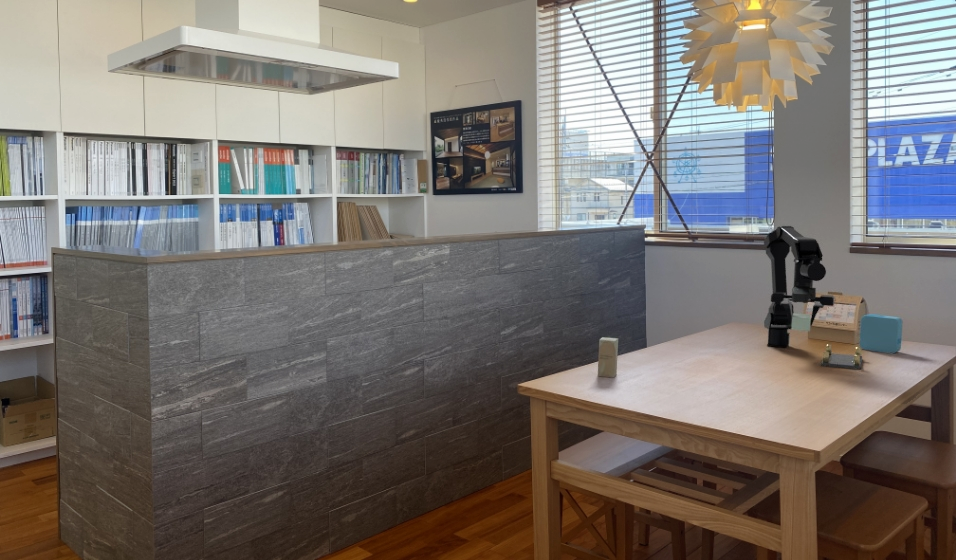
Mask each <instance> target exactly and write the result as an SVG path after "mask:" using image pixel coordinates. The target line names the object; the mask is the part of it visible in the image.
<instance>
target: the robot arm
mask: <svg viewBox="0 0 956 560" xmlns="http://www.w3.org/2000/svg"><path fill="white" fill-rule="evenodd" d="M763 247H764V248H765V254H766V256H767V258H769V260H770V265H771V283H772V286H771V287H772V294H771V295H770V306H769V307H768V313H767V315H766V317H765V318H764V321H763V324H764V328H765V329H767V330H768V331H767V332H768V333H767V344H766V346H767V347H773V348H775V347H776V348H785V349H786V348H788V346H789V345H790V339H791V338H790V337H791V336H790V335H791V332H789V330H791V328H792V315H793V313H795V312H794V311H795V310H794V304H793V303H802V304H808V303H813V305H812V311H811V321H810V327H812V326H813V323H814V322H815V318H816V316H817V314H818V311H819V310H820V309H824V307H825V306H826V307H833V306H834V305H835V296H834V295H833V294H832V295H830V294H821V295H820V296H817V295H816V294H817V287H813V285H814V282H819V281H821V280H823V279H824V278H825V277H826V274H827V270H826V269H827V268H826V267H825V266H824V265H823V263H821V262H822V261H823V257H824V255H823V253H822V249H821V247H820V244H819V242H818V240H817V239H815V238H812V237H806V236H803V235H802V234H801V233H799V231H797V230H796V229H795V227H794V226H792V225H780V226H777V228H776V229H775V230H773V231H771V232H769V233H768V234H767V235H766V236H765V238H764V240H763ZM790 252H791V253H792V256H793V257H794V259H793V262H794V270H793V274H794V275H793V287H792V289H791V294H788V288H787V287H788V283H787V265H786V258H787V257H788V255H789V253H790Z"/></svg>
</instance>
